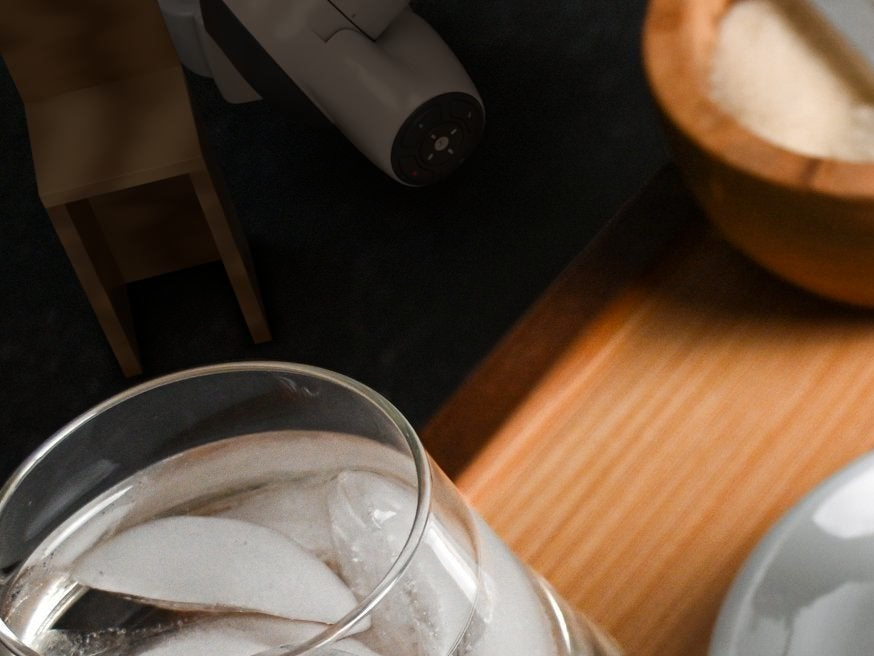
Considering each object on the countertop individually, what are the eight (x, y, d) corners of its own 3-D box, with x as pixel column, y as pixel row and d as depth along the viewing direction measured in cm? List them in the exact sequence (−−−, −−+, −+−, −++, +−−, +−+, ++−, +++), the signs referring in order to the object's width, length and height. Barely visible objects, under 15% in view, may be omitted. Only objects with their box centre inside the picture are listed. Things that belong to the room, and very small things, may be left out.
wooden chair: (128, 385, 130) (-60, -10, 105) (110, 287, 135) (-73, -112, 110) (274, 347, 131) (123, -52, 106) (251, 252, 137) (101, -151, 111)
